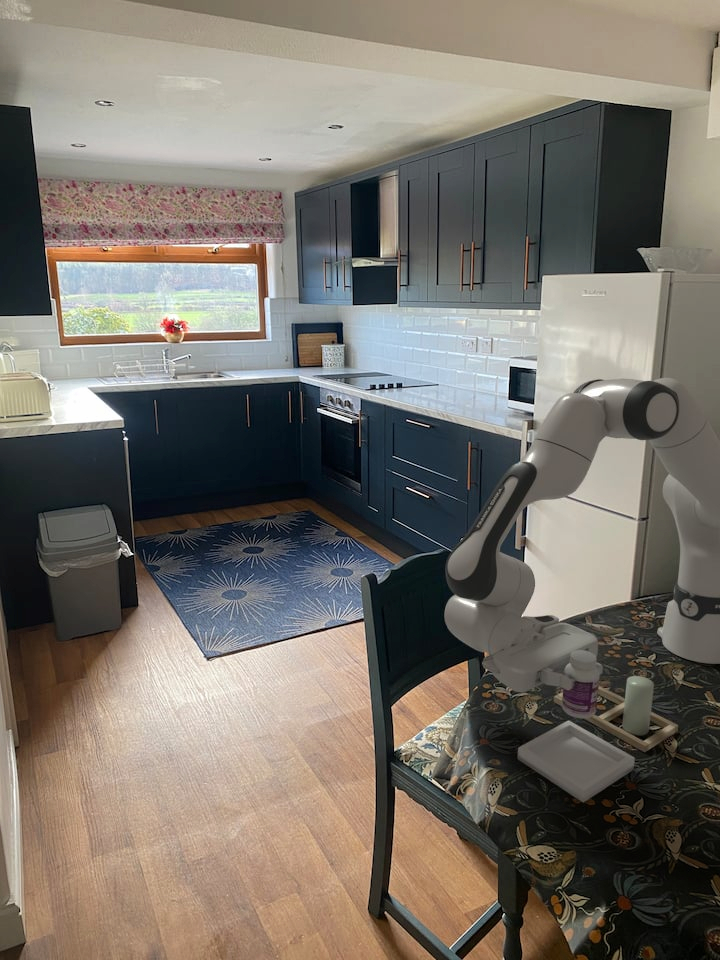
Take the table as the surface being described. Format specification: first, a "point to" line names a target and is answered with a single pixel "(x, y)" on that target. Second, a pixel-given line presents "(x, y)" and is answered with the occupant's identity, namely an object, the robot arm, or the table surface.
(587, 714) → the pill bottle
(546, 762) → the grey tray
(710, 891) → the table surface
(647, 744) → the light wood flat frame
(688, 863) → the table surface
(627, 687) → the sage vial
